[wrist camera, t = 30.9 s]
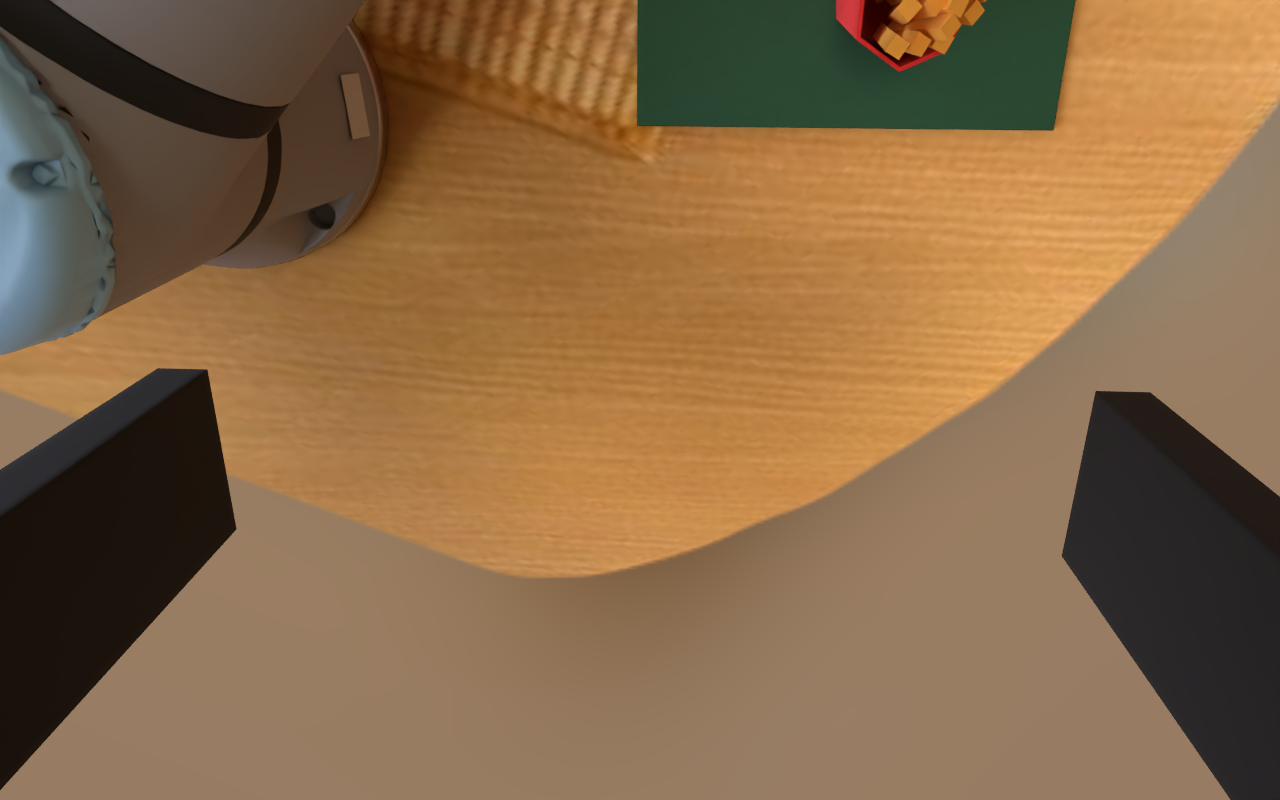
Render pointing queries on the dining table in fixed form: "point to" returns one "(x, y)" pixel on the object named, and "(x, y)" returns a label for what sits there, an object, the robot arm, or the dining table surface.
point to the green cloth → (844, 68)
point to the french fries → (906, 26)
